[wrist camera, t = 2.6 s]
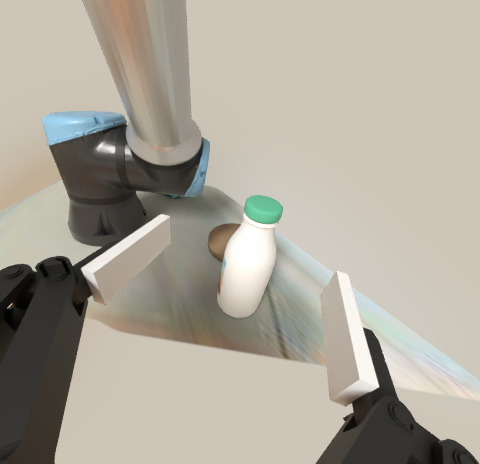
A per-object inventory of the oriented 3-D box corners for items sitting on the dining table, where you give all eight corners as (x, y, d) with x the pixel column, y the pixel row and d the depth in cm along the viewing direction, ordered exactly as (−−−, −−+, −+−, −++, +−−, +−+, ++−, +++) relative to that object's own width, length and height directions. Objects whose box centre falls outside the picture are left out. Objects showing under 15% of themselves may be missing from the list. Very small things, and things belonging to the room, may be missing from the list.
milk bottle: (266, 303, 34) (308, 210, 23) (235, 329, 30) (268, 228, 18) (239, 276, 39) (262, 185, 27) (207, 295, 34) (220, 194, 22)
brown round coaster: (196, 251, 42) (197, 244, 41) (223, 223, 54) (224, 217, 52) (254, 276, 40) (256, 269, 38) (269, 241, 51) (271, 235, 50)
